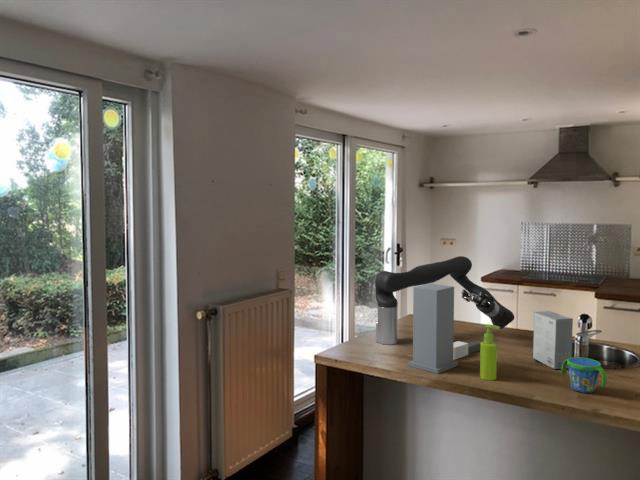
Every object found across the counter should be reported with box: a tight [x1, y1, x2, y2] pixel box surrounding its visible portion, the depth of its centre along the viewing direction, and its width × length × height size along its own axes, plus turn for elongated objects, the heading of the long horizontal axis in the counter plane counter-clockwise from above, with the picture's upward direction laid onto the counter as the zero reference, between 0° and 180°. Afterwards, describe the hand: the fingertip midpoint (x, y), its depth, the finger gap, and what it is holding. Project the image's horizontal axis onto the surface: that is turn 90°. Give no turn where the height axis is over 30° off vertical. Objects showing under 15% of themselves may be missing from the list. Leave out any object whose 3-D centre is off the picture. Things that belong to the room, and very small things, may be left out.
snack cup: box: [560, 356, 608, 394], centre depth 182 cm, size 16×10×10 cm
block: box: [453, 340, 481, 361], centre depth 226 cm, size 21×5×5 cm, turn 130°
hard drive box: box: [532, 310, 574, 370], centre depth 211 cm, size 16×8×20 cm, turn 9°
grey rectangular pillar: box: [407, 283, 459, 375], centre depth 209 cm, size 14×14×32 cm
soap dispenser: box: [479, 324, 500, 381], centre depth 194 cm, size 6×7×20 cm
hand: (471, 292), depth 227 cm, fingers open, 8 cm apart
